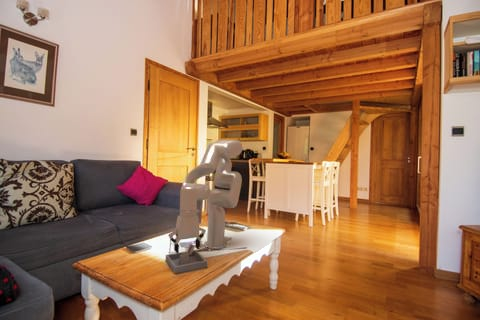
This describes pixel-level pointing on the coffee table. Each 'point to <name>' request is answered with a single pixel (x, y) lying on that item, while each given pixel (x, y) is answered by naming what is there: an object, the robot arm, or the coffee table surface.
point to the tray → (194, 264)
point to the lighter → (186, 256)
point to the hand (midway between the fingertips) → (187, 250)
